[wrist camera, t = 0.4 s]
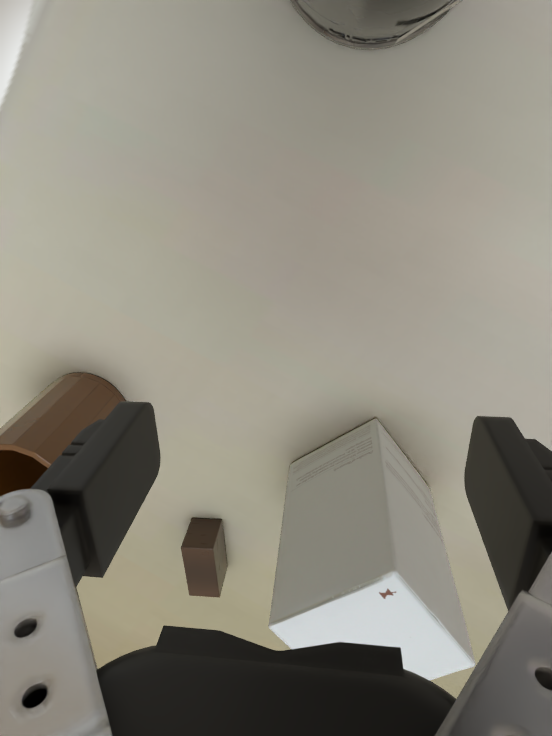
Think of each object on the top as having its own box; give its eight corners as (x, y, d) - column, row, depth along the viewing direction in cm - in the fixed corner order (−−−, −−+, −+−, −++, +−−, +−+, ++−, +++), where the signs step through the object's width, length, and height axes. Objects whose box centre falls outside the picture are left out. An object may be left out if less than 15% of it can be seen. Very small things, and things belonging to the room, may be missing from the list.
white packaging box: (286, 462, 34) (261, 625, 23) (377, 414, 32) (400, 570, 20) (343, 531, 36) (347, 710, 25) (433, 490, 34) (482, 670, 23)
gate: (12, 509, 39) (-12, 536, 37) (222, 519, 37) (213, 549, 35) (28, 554, 42) (7, 583, 39) (227, 566, 39) (219, 597, 37)
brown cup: (38, 371, 33) (-51, 442, 26) (121, 372, 33) (55, 445, 25) (58, 444, 36) (-16, 528, 28) (136, 446, 35) (81, 533, 28)
